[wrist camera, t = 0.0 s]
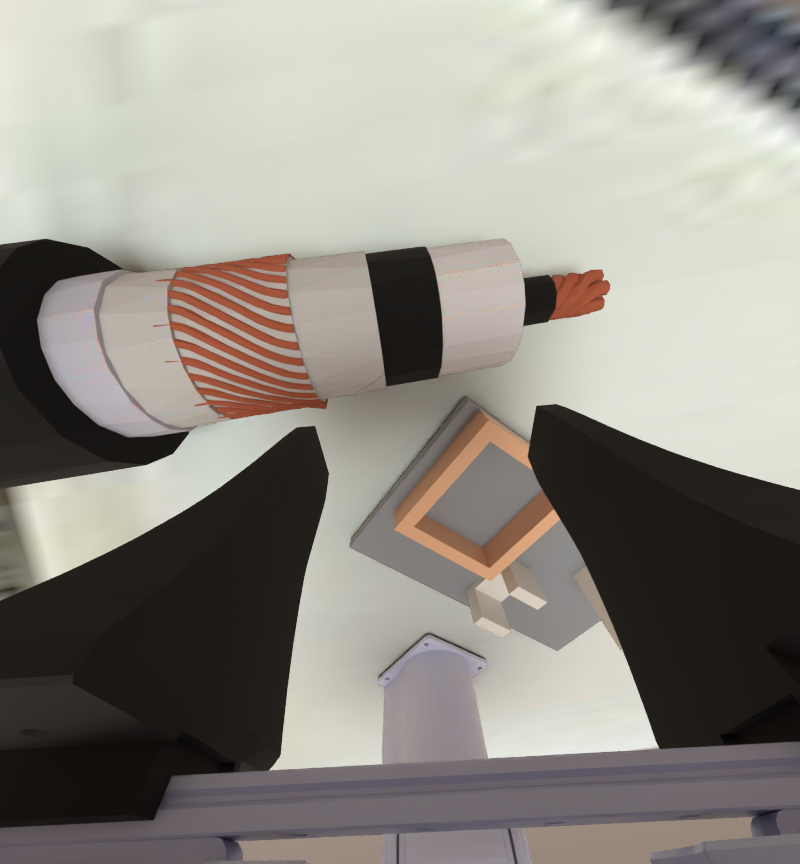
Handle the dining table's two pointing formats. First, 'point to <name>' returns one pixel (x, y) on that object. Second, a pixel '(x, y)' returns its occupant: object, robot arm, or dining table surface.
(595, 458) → the robot arm
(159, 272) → the cable
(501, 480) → the board
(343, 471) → the dining table surface
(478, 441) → the frame
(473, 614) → the clip
